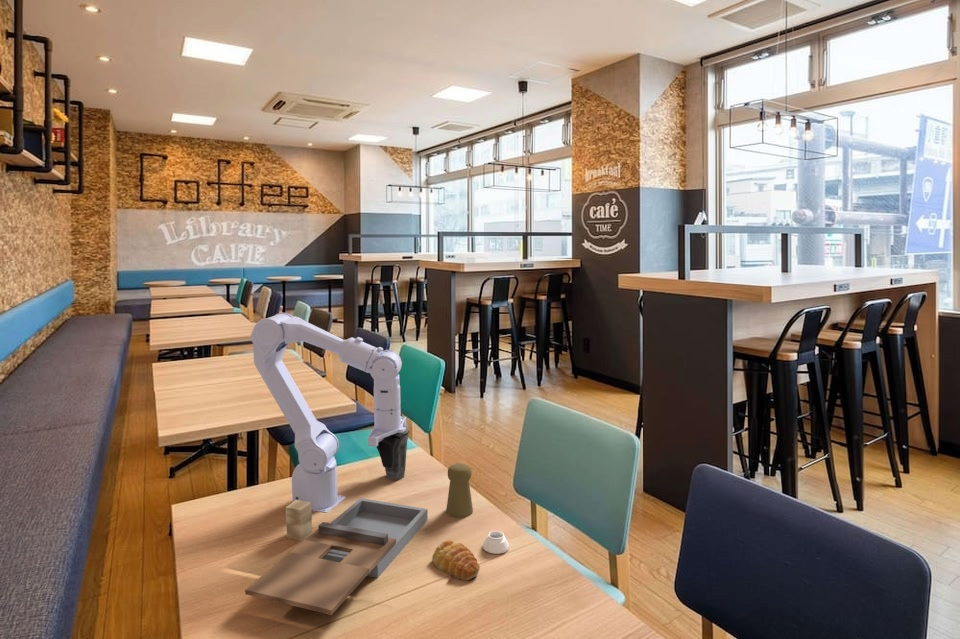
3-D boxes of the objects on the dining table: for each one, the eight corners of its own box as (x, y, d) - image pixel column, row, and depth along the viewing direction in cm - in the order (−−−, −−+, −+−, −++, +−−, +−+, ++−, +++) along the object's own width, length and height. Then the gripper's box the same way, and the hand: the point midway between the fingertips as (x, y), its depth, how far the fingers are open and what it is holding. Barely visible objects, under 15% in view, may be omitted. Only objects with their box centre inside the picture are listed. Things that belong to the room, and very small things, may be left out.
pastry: (488, 573, 108) (488, 553, 107) (460, 588, 103) (460, 568, 103) (455, 552, 115) (455, 533, 114) (427, 565, 110) (427, 546, 110)
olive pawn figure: (474, 507, 133) (474, 460, 131) (471, 520, 127) (471, 471, 125) (448, 506, 133) (447, 459, 131) (443, 519, 127) (443, 470, 125)
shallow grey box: (300, 564, 110) (300, 549, 110) (360, 510, 131) (360, 497, 130) (377, 580, 105) (377, 564, 105) (427, 522, 126) (427, 509, 125)
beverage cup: (376, 481, 146) (374, 402, 143) (386, 469, 153) (384, 394, 150) (405, 483, 145) (403, 404, 142) (413, 471, 152) (412, 395, 149)
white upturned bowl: (478, 547, 116) (493, 558, 113) (478, 533, 116) (493, 544, 112) (497, 539, 119) (514, 550, 115) (498, 525, 119) (514, 536, 115)
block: (287, 540, 118) (285, 507, 117) (297, 531, 122) (296, 499, 121) (302, 543, 117) (300, 510, 116) (312, 534, 121) (311, 502, 120)
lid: (245, 594, 96) (244, 581, 96) (322, 529, 116) (321, 518, 116) (331, 614, 91) (331, 601, 91) (396, 543, 111) (395, 531, 111)
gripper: (388, 419, 121) (389, 482, 123) (417, 399, 135) (418, 456, 137) (358, 415, 124) (359, 477, 126) (389, 396, 137) (391, 452, 139)
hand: (388, 466), depth 131 cm, fingers closed
